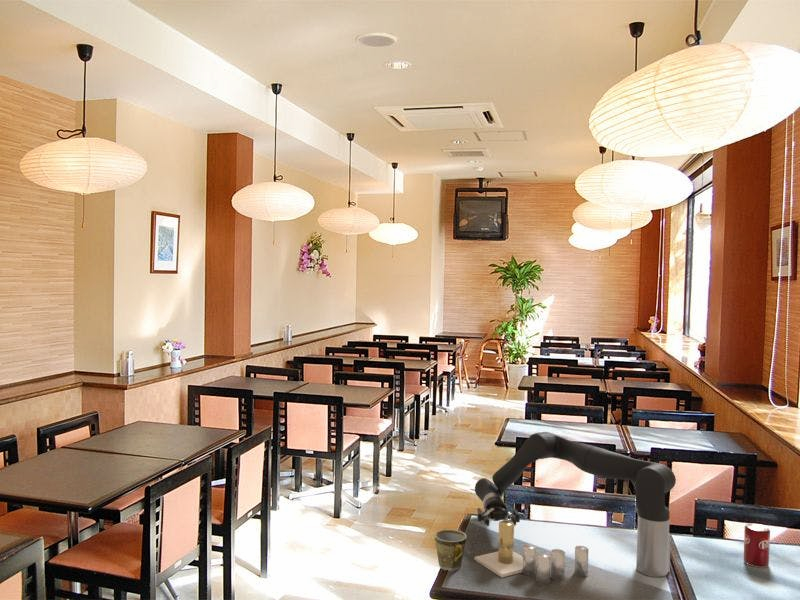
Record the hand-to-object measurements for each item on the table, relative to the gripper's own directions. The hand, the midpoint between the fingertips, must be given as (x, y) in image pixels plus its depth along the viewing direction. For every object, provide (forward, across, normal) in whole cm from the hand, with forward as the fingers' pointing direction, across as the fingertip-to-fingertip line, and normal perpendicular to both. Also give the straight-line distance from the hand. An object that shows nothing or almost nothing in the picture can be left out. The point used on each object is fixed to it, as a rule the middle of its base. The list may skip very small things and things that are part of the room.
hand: (501, 523), depth 220 cm
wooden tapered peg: (+10, 0, +8) cm, 13 cm away
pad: (+10, 0, +9) cm, 14 cm away
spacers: (+16, +14, +9) cm, 24 cm away
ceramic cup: (+14, -17, +9) cm, 24 cm away
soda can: (+6, +82, +9) cm, 83 cm away
